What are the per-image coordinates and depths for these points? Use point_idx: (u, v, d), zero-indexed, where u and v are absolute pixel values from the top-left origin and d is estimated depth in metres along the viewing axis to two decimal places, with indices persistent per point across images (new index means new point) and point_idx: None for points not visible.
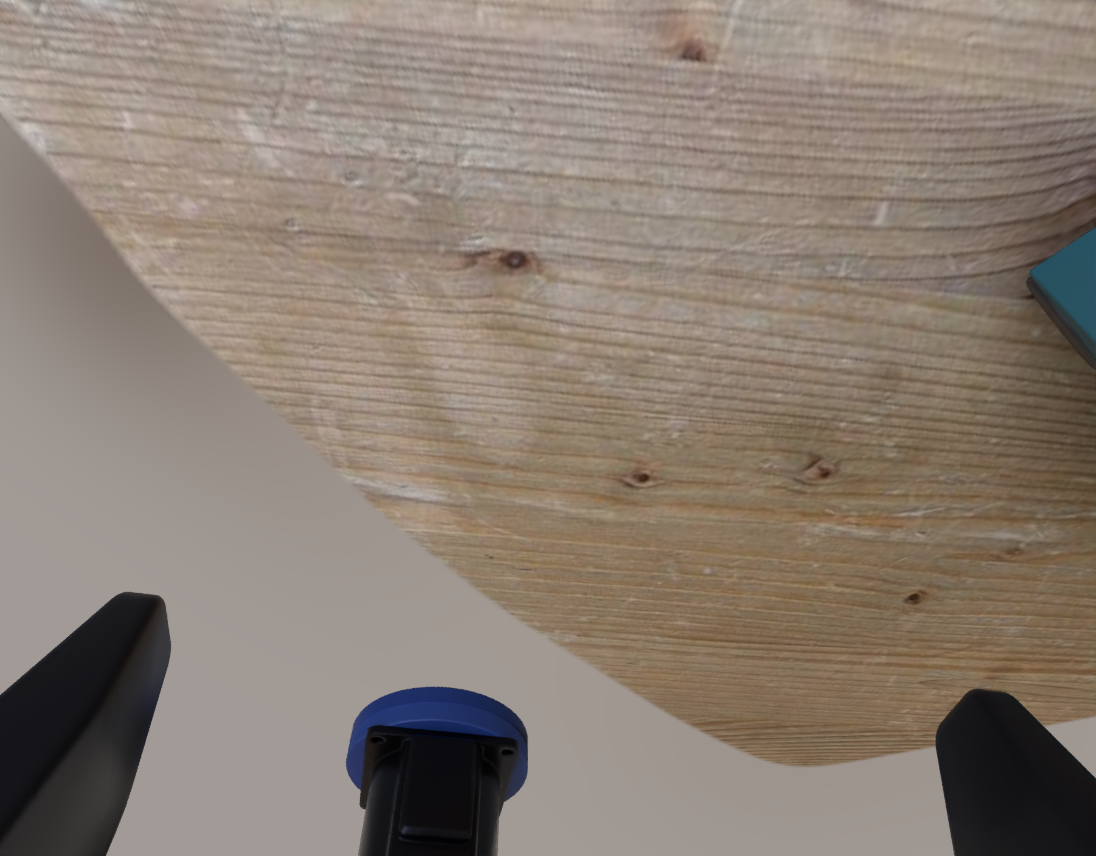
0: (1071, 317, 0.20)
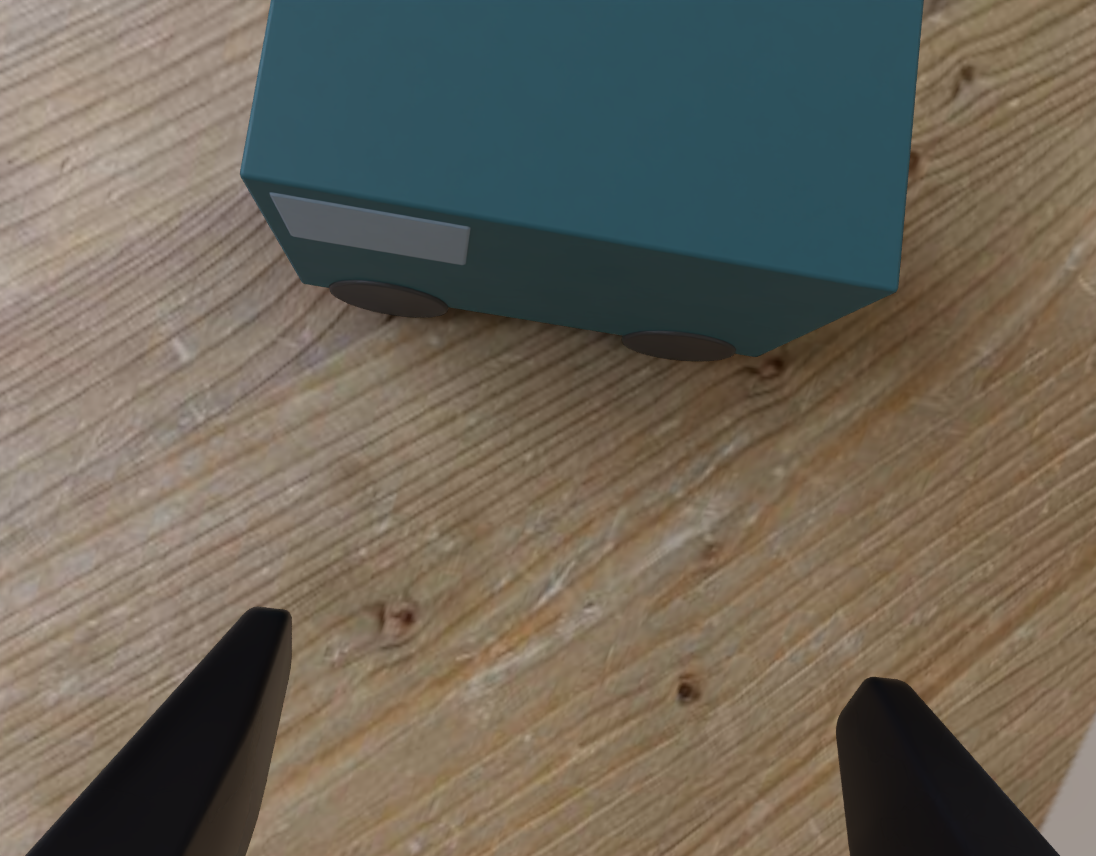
0: (288, 257, 0.19)
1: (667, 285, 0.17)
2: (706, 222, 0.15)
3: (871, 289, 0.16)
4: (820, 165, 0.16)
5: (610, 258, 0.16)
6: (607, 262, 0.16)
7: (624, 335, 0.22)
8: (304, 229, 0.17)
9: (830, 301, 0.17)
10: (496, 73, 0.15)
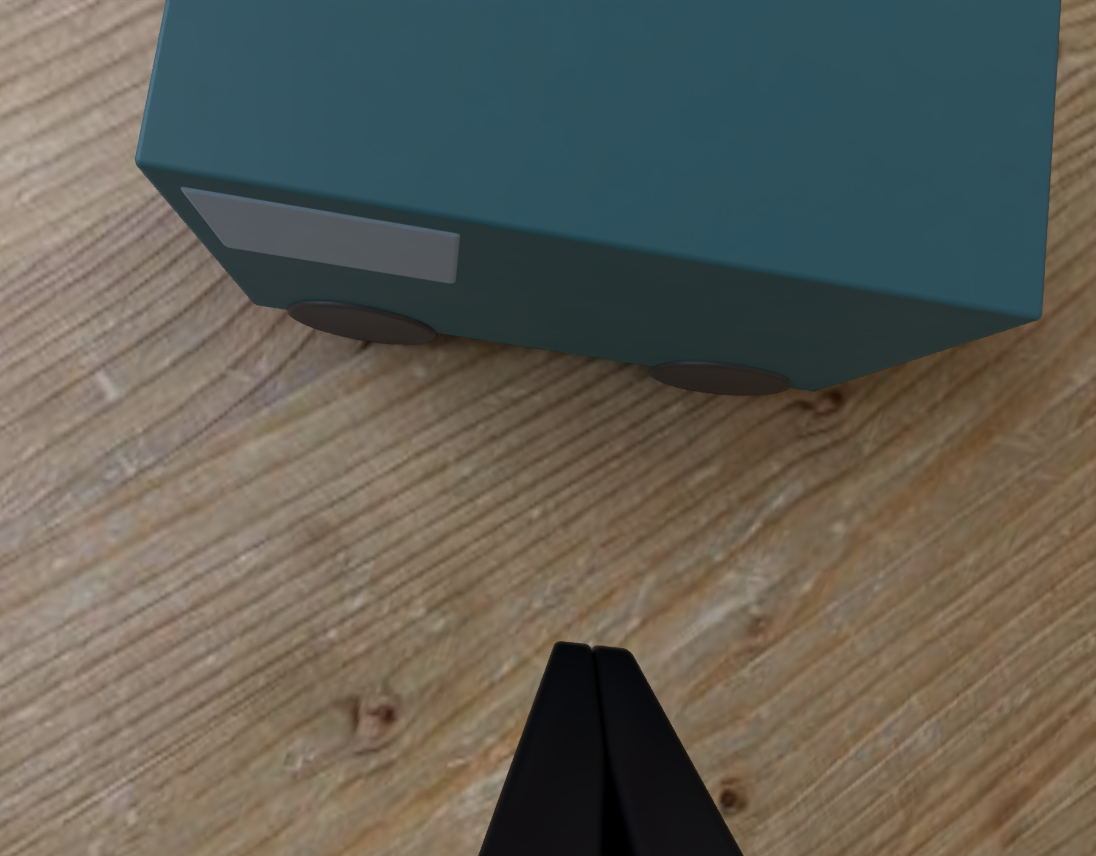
0: (228, 273, 0.15)
1: (722, 309, 0.13)
2: (783, 227, 0.11)
3: (1005, 317, 0.12)
4: (935, 148, 0.12)
5: (650, 275, 0.12)
6: (645, 281, 0.12)
7: (653, 366, 0.18)
8: (240, 238, 0.13)
9: (939, 330, 0.13)
10: (495, 22, 0.11)
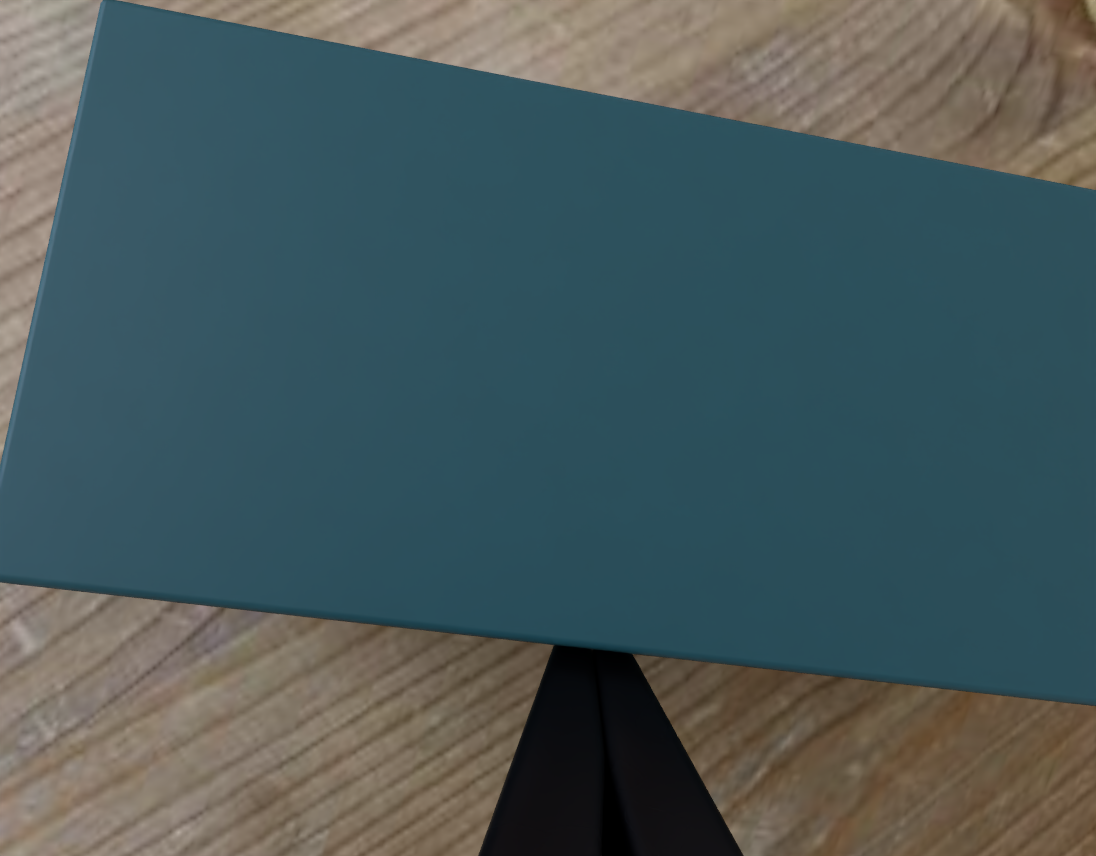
0: None
1: None
2: (806, 610, 0.09)
3: None
4: (992, 496, 0.09)
5: None
6: None
7: None
8: None
9: None
10: (444, 365, 0.09)
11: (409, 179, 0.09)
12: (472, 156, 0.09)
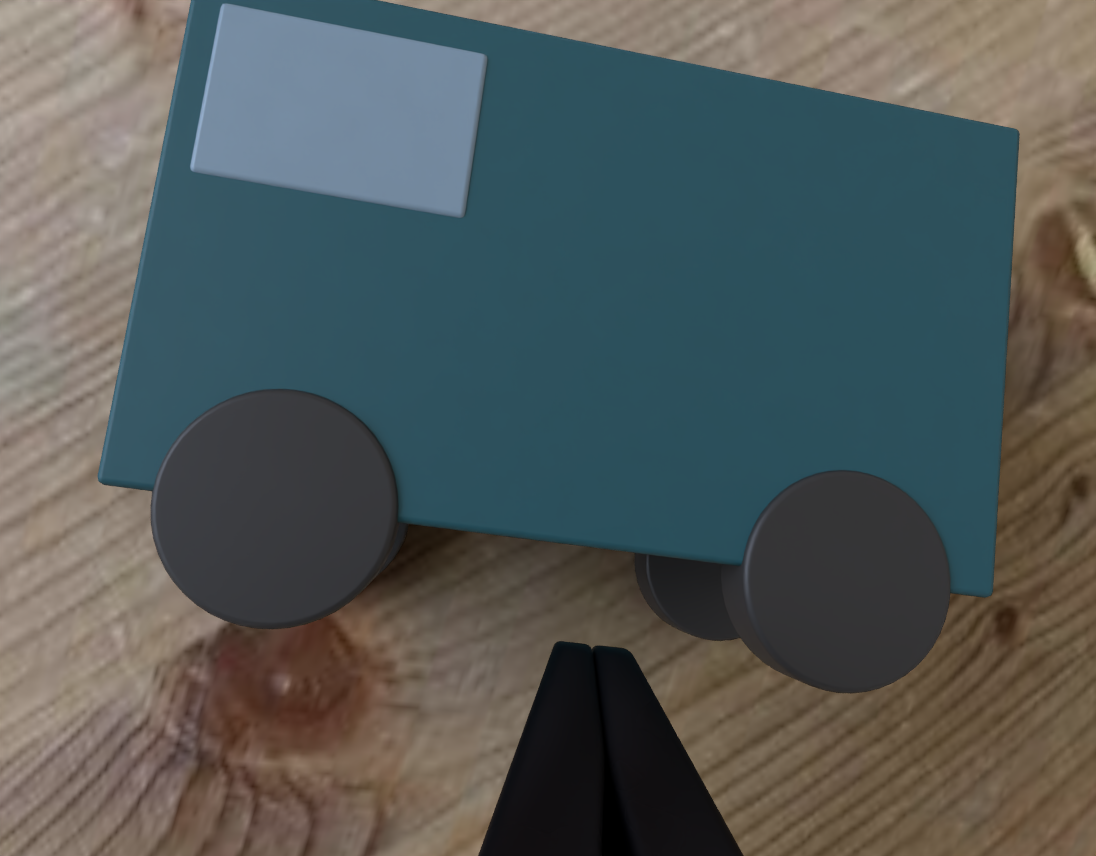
0: (133, 305, 0.11)
1: (762, 205, 0.12)
2: None
3: (992, 130, 0.13)
4: None
5: (672, 118, 0.12)
6: (671, 136, 0.12)
7: (743, 555, 0.11)
8: (223, 139, 0.11)
9: (970, 195, 0.12)
10: None
11: None
12: None
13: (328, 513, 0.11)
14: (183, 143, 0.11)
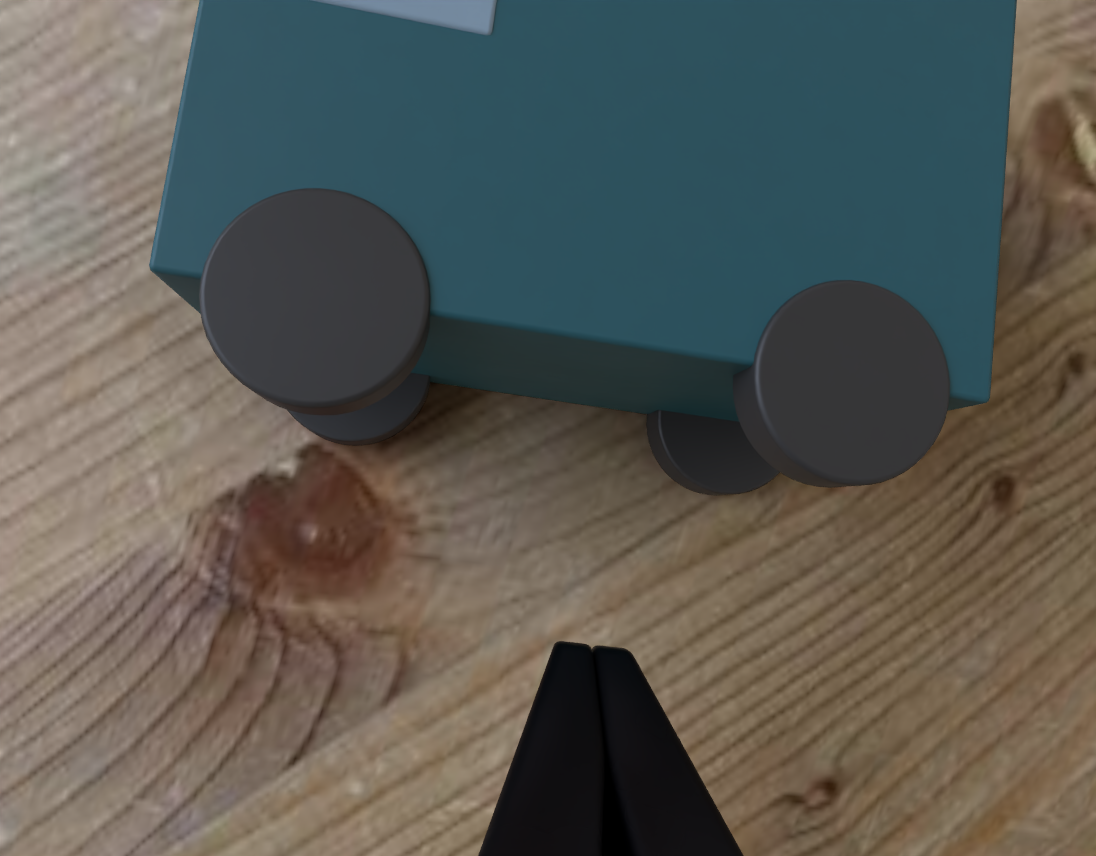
0: (181, 107, 0.11)
1: (773, 31, 0.13)
2: None
3: None
4: None
5: None
6: None
7: (754, 355, 0.12)
8: None
9: (971, 28, 0.13)
10: None
11: None
12: None
13: (365, 302, 0.11)
14: None
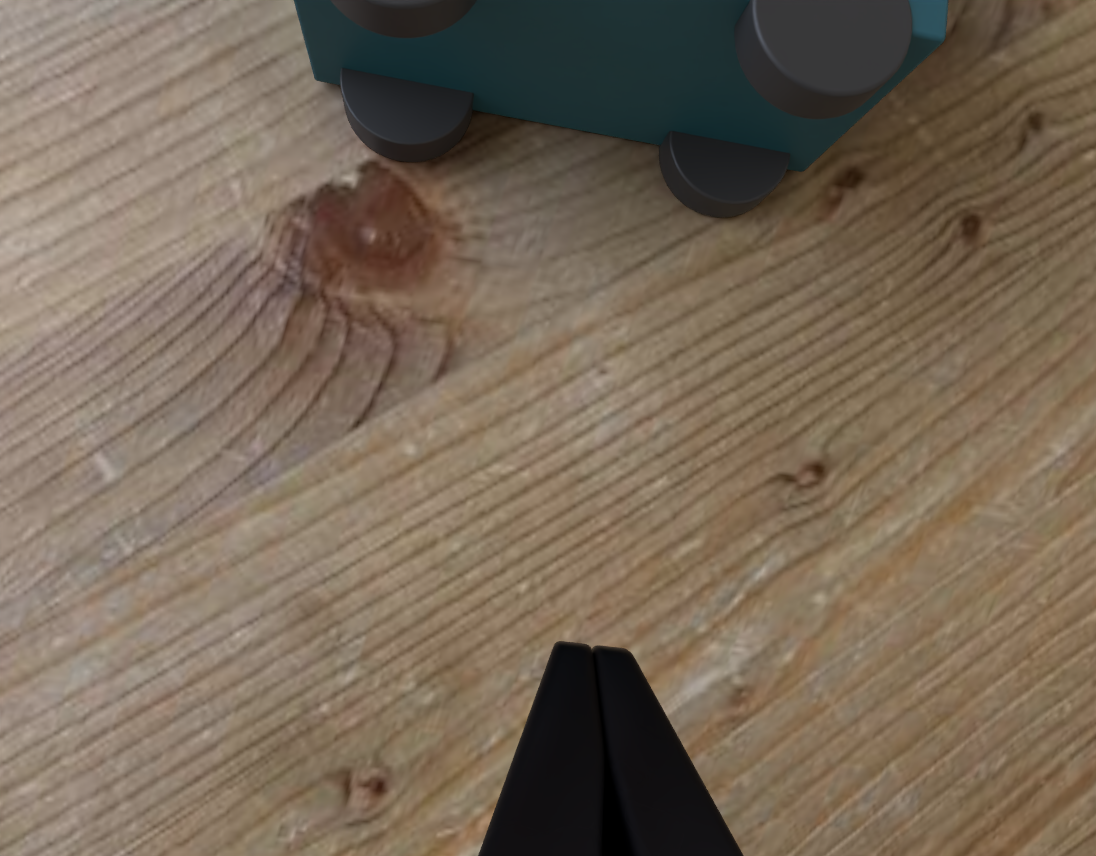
0: None
1: None
2: None
3: None
4: None
5: None
6: None
7: None
8: None
9: None
10: None
11: None
12: None
13: None
14: None
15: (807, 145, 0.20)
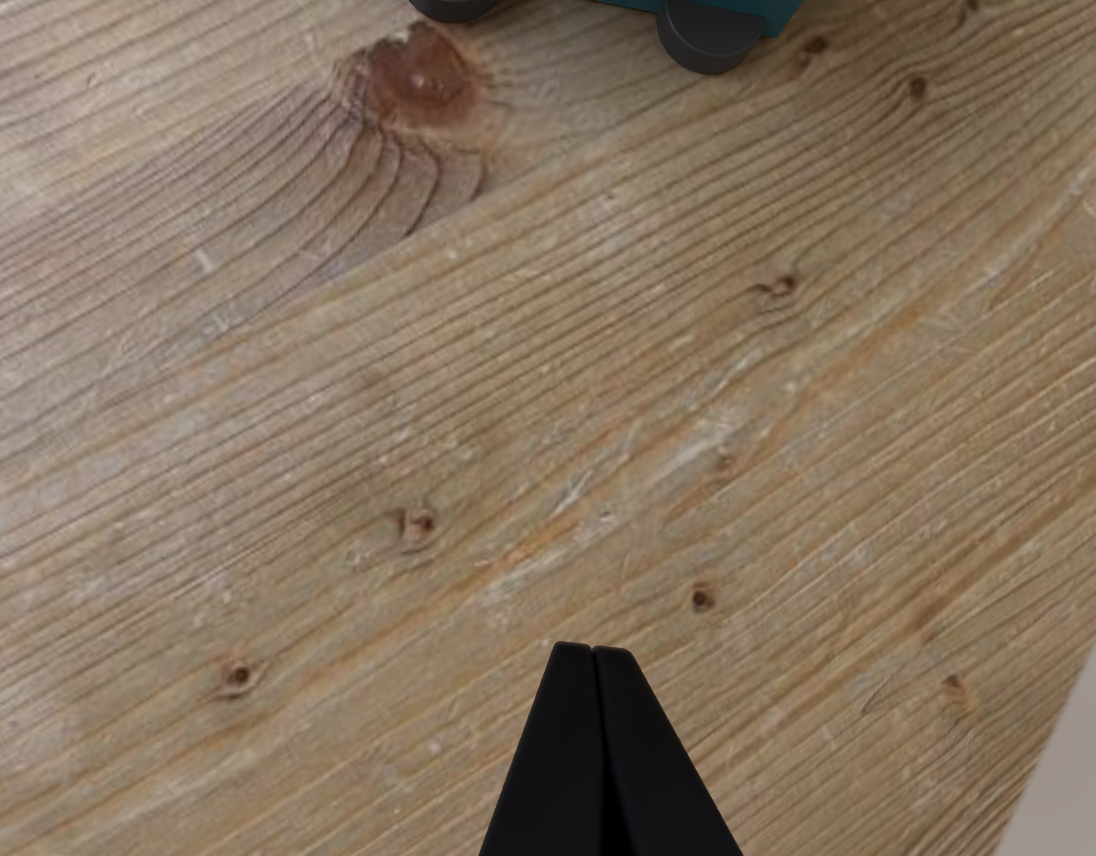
0: None
1: None
2: None
3: None
4: None
5: None
6: None
7: None
8: None
9: None
10: None
11: None
12: None
13: None
14: None
15: (778, 7, 0.24)
